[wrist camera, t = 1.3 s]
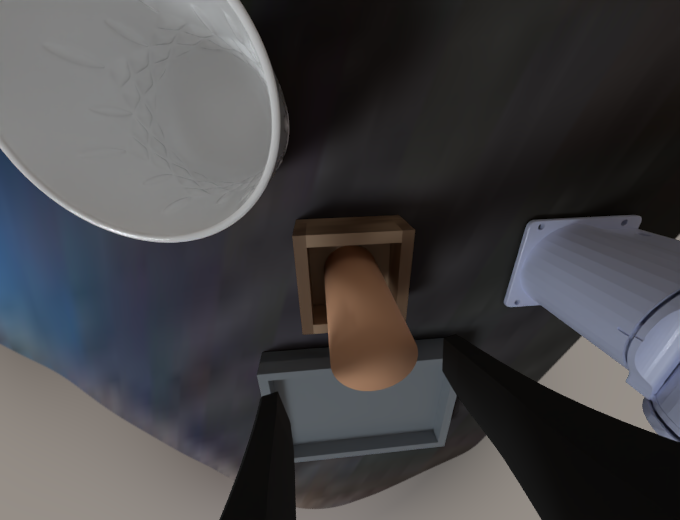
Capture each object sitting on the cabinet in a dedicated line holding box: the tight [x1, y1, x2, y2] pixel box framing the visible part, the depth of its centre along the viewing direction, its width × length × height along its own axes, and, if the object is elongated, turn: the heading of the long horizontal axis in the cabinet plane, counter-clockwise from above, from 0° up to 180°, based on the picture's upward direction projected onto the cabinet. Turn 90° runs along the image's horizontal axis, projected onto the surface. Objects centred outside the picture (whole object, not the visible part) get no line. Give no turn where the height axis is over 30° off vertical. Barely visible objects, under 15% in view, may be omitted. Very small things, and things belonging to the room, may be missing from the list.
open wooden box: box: [292, 215, 415, 335], centre depth 19 cm, size 8×8×4 cm
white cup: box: [0, 0, 289, 243], centre depth 12 cm, size 8×8×10 cm
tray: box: [257, 338, 457, 463], centre depth 26 cm, size 18×13×2 cm
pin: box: [324, 245, 418, 391], centre depth 16 cm, size 4×4×9 cm
